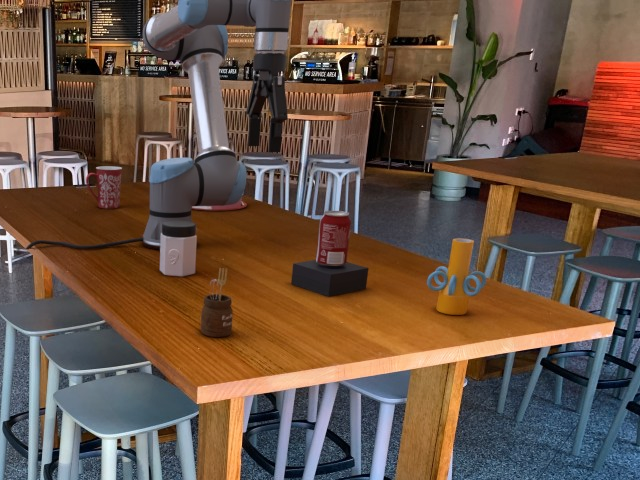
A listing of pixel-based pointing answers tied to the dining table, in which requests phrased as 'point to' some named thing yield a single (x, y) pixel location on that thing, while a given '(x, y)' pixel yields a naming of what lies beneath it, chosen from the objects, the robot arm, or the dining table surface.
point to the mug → (107, 186)
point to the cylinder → (456, 279)
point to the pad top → (330, 272)
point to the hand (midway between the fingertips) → (263, 149)
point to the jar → (178, 248)
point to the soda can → (333, 239)
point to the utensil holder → (217, 312)
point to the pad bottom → (328, 286)
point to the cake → (222, 207)
